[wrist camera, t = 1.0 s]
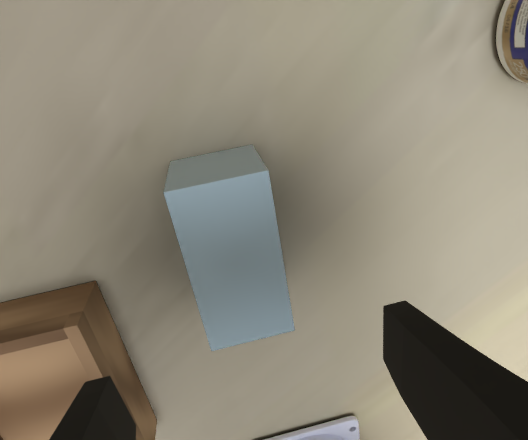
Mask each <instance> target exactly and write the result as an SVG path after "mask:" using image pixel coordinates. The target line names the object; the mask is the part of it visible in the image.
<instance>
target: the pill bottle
mask: <svg viewBox="0 0 528 440" xmlns="http://www.w3.org/2000/svg"><path fill="white" fill-rule="evenodd" d="M496 46H497V52H498V56H499V59H500V61H501V64H502V65H503V67H504V68H505V70H506V71H507V72H508V73H509V74H510V75H511V76H512V77H513V78H515V79H516V80H518V81H521V82H523V83H527V84H528V0H505V2H504V4H503V7H502V9H501V12H500V16H499V19H498V24H497V32H496Z"/></svg>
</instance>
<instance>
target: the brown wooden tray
mask: <svg viewBox="0 0 528 440" xmlns="http://www.w3.org/2000/svg"><path fill="white" fill-rule="evenodd" d="M106 376H110V377H111V378H112V380H113V382H114V384H115V386H116V388H117V390H118V392H119V394H120V395H121V397H122V399H123V401H124V403H125V405H126V407H127V409H128V411H129V412H130V414H131V416H132V418H133V420H134V422H135V424H136V440H155V434H156V424H157V419H156V417H155V415H154V413H153V410H152V408H151V406H150V403H149V401H148V399H147V397H146V394H145V392H144V390H143V388H142V385H141V383H140V381H139V378H138V376H137V374H136V372H135V369H134V367H133V365H132V362H131V360H130V358H129V356H128V353H127V351H126V349H125V347H124V344H123V342H122V340H121V337H120V335H119V333H118V331H117V328H116V326H115V324H114V321H113V319H112V317H111V315H110V312H109V310H108V308H107V306H106V303H105V301H104V299H103V296H102V294H101V292H100V290H99V287H98V285H97V283H96V281H93V282H89V283H85V284H80V285H76V286H72V287H67V288H63V289H59V290H54V291H50V292H46V293H41V294H37V295H32V296H28V297H24V298H19V299H15V300H11V301H6V302H2V303H0V440H49V439H50V437H51V436H52V434H53V433H54V431H55V429H56V428H57V426H58V424H59V423H60V421H61V420H62V418H63V416H64V415H65V413H66V411H67V410H68V408H69V407H70V405H71V403H72V402H73V400H74V399H75V397H76V395H77V394H78V392H79V391H80V389H81V387H82V386H83V384H84V383H85V382H87V381H91V380H95V379H98V378H102V377H106Z"/></svg>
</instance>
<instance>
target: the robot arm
mask: <svg viewBox="0 0 528 440" xmlns="http://www.w3.org/2000/svg"><path fill="white" fill-rule="evenodd" d="M383 359H384V362H385V364H386V366H387V368H388V370H389V372H390V375H391V377H392V379H393V381H394V383H395V385H396V387H397V389H398V391H399V393H400V395H401V397H402V399H403V400H404V402H405V404H406V405H407V407H408V408H409V410H410V412H411V413H412V415H413V417H414V418H415V420H416V421H417V423H418V425H419V426H420V428H421V430H422V431H423V433H424V434H425V436H426V438H427V439H428V440H528V382H527V381H525V380H524V379H522V378H520V377H519V376H517V375H515V374H514V373H512V372H510V371H509V370H507V369H506V368H504V367H502V366H501V365H499V364H498V363H496V362H494V361H493V360H491V359H490V358H488V357H487V356H485V355H484V354H482V353H481V352H479V351H478V350H476V349H475V348H473V347H472V346H470V345H468V344H467V343H465V342H464V341H463V340H461V339H460V338H458V337H457V336H455V335H454V334H452V333H451V332H449V331H448V330H447V329H445V328H444V327H442V326H441V325H439V324H438V323H437V322H435V321H434V320H432V319H431V318H429V317H428V316H427V315H425V314H424V313H422V312H421V311H420V310H418V309H417V308H415V307H414V306H412V305H411V304H409V303H408V302H407V301H401V302H397V303H394V304H390V305H386V306H384V317H383ZM49 440H136V424H135V422H134V420H133V418H132V416H131V414H130V412H129V411H128V409H127V407H126V405H125V403H124V401H123V399H122V397H121V395H120V394H119V392H118V390H117V388H116V386H115V384H114V382H113V380H112V378H111V377H110V376H106V377H102V378H98V379H95V380H91V381H87V382H85V383H84V384H83V386H82V387H81V389H80V391H79V392H78V394H77V395H76V397H75V399H74V400H73V402H72V403H71V405H70V407H69V408H68V410H67V411H66V413H65V415H64V416H63V418H62V420H61V421H60V423H59V424H58V426H57V428H56V429H55V431H54V433H53V434H52V436H51V437H50V439H49ZM264 440H360V435H359V422H358V420H357V418H356V417H355V416H348V417H344V418H340V419H337V420H333V421H330V422H326V423H322V424H319V425H315V426H311V427H308V428H304V429H300V430H297V431H293V432H290V433H286V434H282V435H279V436H275V437H271V438H268V439H264Z"/></svg>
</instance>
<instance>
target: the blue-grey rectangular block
mask: <svg viewBox="0 0 528 440" xmlns="http://www.w3.org/2000/svg"><path fill="white" fill-rule="evenodd" d="M163 193H164V196H165V199H166V203H167V206H168V209H169V213H170V216H171V219H172V222H173V226H174V229H175V232H176V236H177V239H178V242H179V246H180V249H181V252H182V256H183V259H184V262H185V265H186V269H187V272H188V275H189V279H190V282H191V285H192V289H193V292H194V295H195V299H196V302H197V305H198V308H199V312H200V315H201V318H202V322H203V325H204V328H205V332H206V335H207V338H208V342H209V345H210V348H211V351H215V350H219V349H223V348H227V347H231V346H234V345H238V344H242V343H246V342H250V341H254V340H258V339H262V338H266V337H270V336H274V335H278V334H282V333H286V332H290V331H294V330H295V328H294V322H293V316H292V310H291V304H290V298H289V292H288V286H287V280H286V274H285V268H284V262H283V256H282V249H281V243H280V237H279V231H278V225H277V219H276V213H275V207H274V201H273V195H272V189H271V183H270V177H269V171H268V169H267V167H266V166H265V164H264V162H263V161H262V159H261V157H260V156H259V154H258V153H257V151H256V149H255V148H254V146H253V145H247V146H242V147H237V148H233V149H228V150H223V151H218V152H213V153H208V154H203V155H199V156H194V157H189V158H184V159H179V160H174V161H170V165H169V169H168V174H167V179H166V183H165V188H164V192H163Z"/></svg>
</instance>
